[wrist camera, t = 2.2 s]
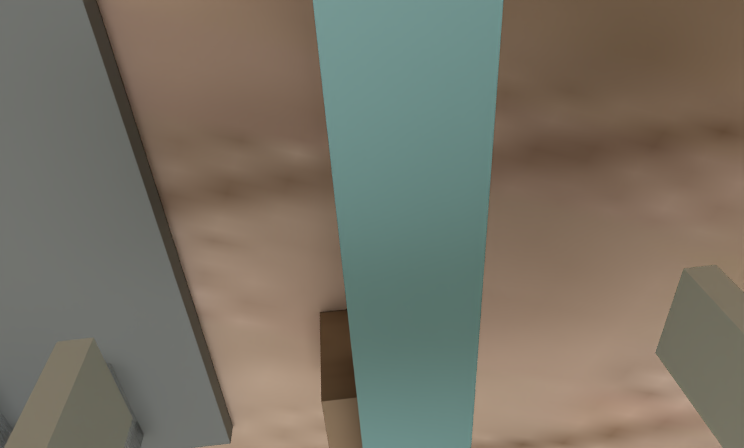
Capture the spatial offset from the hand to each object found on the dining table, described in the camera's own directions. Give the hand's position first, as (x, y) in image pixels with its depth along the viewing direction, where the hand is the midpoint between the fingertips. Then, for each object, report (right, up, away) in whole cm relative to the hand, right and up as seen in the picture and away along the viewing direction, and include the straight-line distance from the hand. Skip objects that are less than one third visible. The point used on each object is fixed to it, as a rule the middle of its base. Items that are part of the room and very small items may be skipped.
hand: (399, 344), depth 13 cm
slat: (0, +3, +4) cm, 5 cm away
